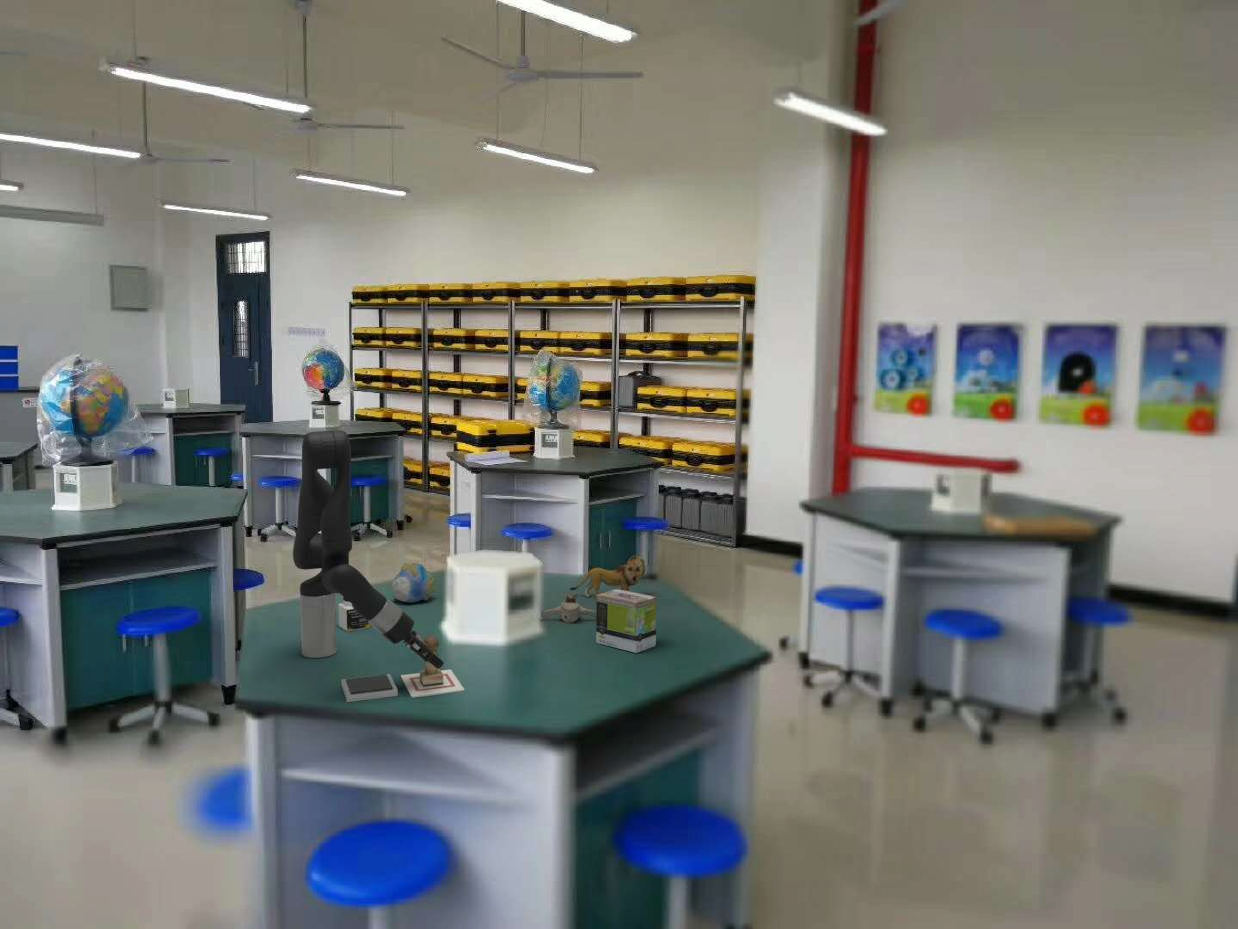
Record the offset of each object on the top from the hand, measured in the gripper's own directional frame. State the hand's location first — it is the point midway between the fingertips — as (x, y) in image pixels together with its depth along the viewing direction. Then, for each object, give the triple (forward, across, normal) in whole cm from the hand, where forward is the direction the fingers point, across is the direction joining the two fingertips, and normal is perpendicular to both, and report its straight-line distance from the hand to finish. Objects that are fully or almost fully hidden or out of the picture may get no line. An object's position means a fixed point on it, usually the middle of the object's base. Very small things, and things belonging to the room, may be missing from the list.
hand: (438, 661), depth 244 cm
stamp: (+2, 0, +5) cm, 6 cm away
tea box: (+44, +13, -36) cm, 59 cm away
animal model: (+54, +64, -46) cm, 95 cm away
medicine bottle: (-6, +57, +14) cm, 59 cm away
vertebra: (+40, +42, -31) cm, 66 cm away
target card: (+3, 0, +5) cm, 6 cm away
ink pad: (-8, 0, +16) cm, 18 cm away
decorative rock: (+10, +82, -1) cm, 83 cm away
